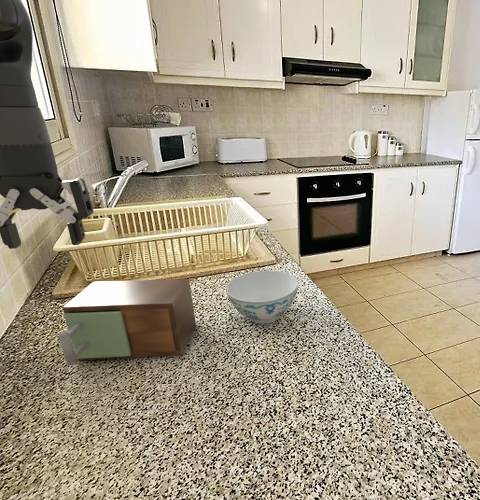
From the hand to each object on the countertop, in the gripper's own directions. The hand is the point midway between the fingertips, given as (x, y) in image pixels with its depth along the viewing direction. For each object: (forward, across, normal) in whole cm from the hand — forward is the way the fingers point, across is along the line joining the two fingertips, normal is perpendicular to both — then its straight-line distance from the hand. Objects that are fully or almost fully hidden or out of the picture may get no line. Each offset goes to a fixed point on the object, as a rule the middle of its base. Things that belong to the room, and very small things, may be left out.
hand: (47, 245), depth 59 cm
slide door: (+21, -4, +4) cm, 22 cm away
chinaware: (+22, -33, -8) cm, 41 cm away
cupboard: (+22, -9, -4) cm, 24 cm away
